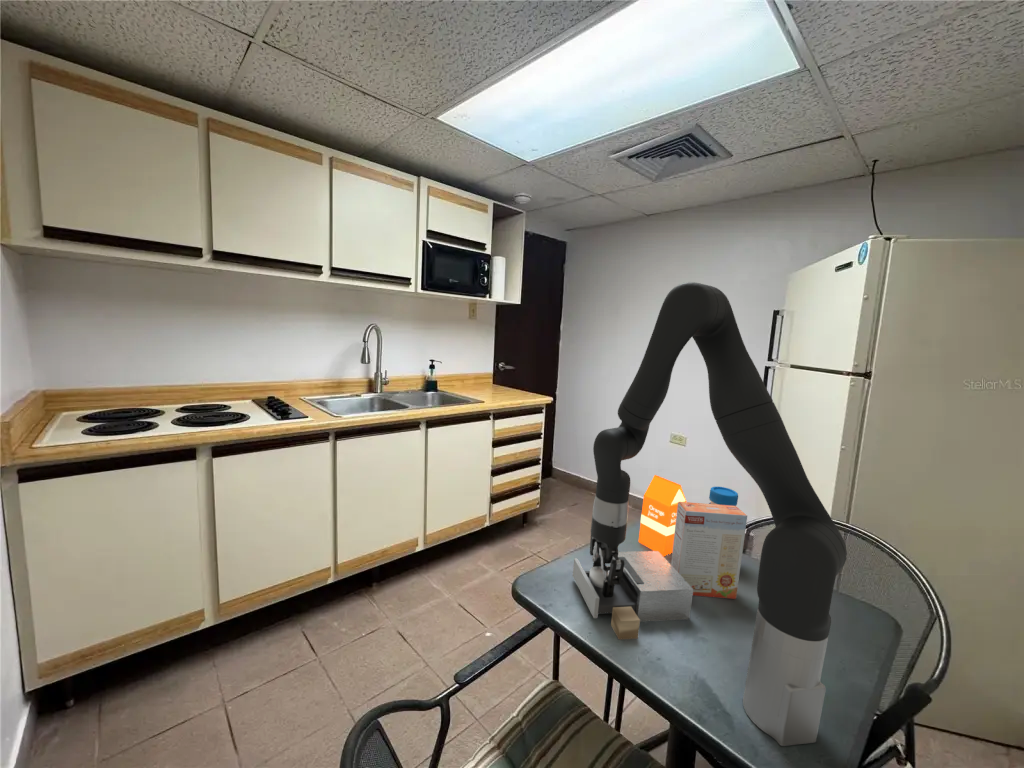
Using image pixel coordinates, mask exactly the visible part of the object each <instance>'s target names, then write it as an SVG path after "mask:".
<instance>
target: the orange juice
mask: <svg viewBox="0 0 1024 768" xmlns="http://www.w3.org/2000/svg"><path fill="white" fill-rule="evenodd" d="M678 502H688V501H687V499H686V496H685V493H684V491H683V487H682V484H679V483H677V482H674V481H671V480H669V479H667V478H665V477H661V476H659V475H657V474H654V475H653V477H652V480H651V481H650V483H649V485H648V486H647V489H646V491H645V492H644V494H643V499H642V509H641V514H640V524H639V525H640V526H639V533H638V543H639V544H640V545H642V546H645V547H647V548H648V549H650V551H659V552H660V554H661V555H662V556H663V557H667V556H669V555H672V554H671V553H672V551H673V542H674V533H675V524H676V516H677V507H678ZM668 554H669V555H668ZM666 555H667V556H666Z"/></svg>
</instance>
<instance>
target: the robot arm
mask: <svg viewBox="0 0 1024 768" xmlns="http://www.w3.org/2000/svg"><path fill="white" fill-rule="evenodd" d="M738 326H739V325H738V323H737V320H736V317H735V314H734V311H733V309H732V305H731V303H730V301H729V299H728V297H727V295H726V294H725V293H724V292H723V291H722V290H721V289H719V288H717V287H715V286H711V285H708V284H704V283H701V282H700V283H699V282H694V281H688V282H683V283H679V284H677V285H676V286H674V287H673V288H672V289H670V290H669V292H668V293H667V295H666V297H665V298H664V301H663V303H662V305H661V307H660V310H659V313H658V316H657V317H656V322H655V325H654V328H653V330H652V334H651V335H650V339H649V341H648V345H647V347H646V349H645V353H644V355H643V358H642V360H641V362H640V366H639V367H638V370H637V372H636V374H635V376H634V378H633V380H632V383H631V384H630V385H629V388H628V389H627V391H626V393H625V394H624V397H623V398H622V400H621V402H620V404H619V406H618V409H617V416H618V419H619V420H620V421H621V423H620V424H619V426H618V427H614V428H613V427H612V428H607V429H603V430H601V431H600V432H598V434H597V435H596V437H595V438H594V442H593V449H592V450H593V458H594V465H595V471H596V476H597V478H596V489H595V496H594V500H593V507H592V516H591V524H590V539H589V541H590V543H589V554H590V556H592V558H591V559H592V564H593V565H592V567H595V566H601V569H602V570H603V571H604V583H603V592H602V594H603V596H604V597H605V598H607V597H612V596H613V592H614V585H616V584H617V585H620V584H621V579H622V574H623V569H624V560H620V559H619V558H618V552H619V546H620V545H621V544H622V543H623V542H624V541H625V540H626V536H627V526H628V518H629V517H628V516H629V498H630V490H631V476H630V475H629V473H628V472H626V471H625V470H623V469H622V468H621V467H622V462H623V461H626V460H629V459H633V458H634V457H636V456H637V455H638V454H639V453H640V452H641V450H642V449H643V448H644V445H645V443H646V439H647V436H648V433H649V429H650V425H651V422H652V421H653V420H654V418H655V416H656V415H657V413H658V411H660V410H659V409H660V408H661V406H662V404H663V403H664V401H665V399H666V396H667V394H668V391H669V388H670V383H671V378H672V373H673V370H674V368H675V367H674V366H675V364H676V362H677V359H678V358H679V355H680V354H681V352H682V350H683V349H684V347H685V346H686V345H687V343H689V341H690V340H691V338H692V339H693V341H694V342H695V344H696V346H697V348H698V350H699V352H700V354H701V356H702V358H703V361H704V363H705V366H706V367H705V368H706V370H707V379H708V396H709V404H710V408H711V413H712V415H713V418H714V420H715V422H716V425H717V427H718V430H719V432H720V435H721V438H722V439H723V442H724V443H725V446H727V449H728V450H729V452H730V453H731V454H732V455H733V457H734V458H735V460H736V461H737V462H738V463H739V464H740V465H741V466H742V467H741V468H743V469H744V470H745V471H746V472H747V473H748V474H749V475H750V477H751V478H752V479H753V481H754V482H755V483H756V485H757V486H758V487H759V489H760V491H761V493H762V495H763V497H764V499H765V501H766V504H767V506H768V508H769V512H770V514H771V516H772V520H773V523H774V526H775V527H774V528H773V529H771V530H770V531H769V532H768V533H767V534H766V536H765V538H764V541H763V543H762V544H763V545H762V548H761V554H760V558H759V559H760V560H759V566H758V577H757V583H756V586H757V587H756V591H757V592H756V593H757V597H758V603H757V604H758V605H757V611H756V618H755V623H754V628H753V635H752V642H751V647H750V653H749V654H750V655H749V659H748V661H749V662H748V667H747V670H746V671H747V673H746V678H745V684H744V692H743V698H742V705H743V708H744V711H745V713H746V715H747V716H748V718H749V719H750V720H751V722H753V723H754V724H755V725H756V726H757V728H759V729H760V730H761V731H763V732H764V733H765V734H767V735H768V736H770V737H772V738H773V739H774V740H775V741H776V742H777V743H778V744H779V746H781V747H785V746H786V747H787V746H796V745H802V744H804V745H805V744H812V743H813V744H814V743H816V742H817V737H818V732H819V728H820V727H819V726H820V722H821V717H822V711H823V708H824V707H823V706H824V700H825V695H826V691H827V688H826V685H825V684H823V683H822V682H821V677H822V672H823V666H824V663H825V662H824V661H825V656H826V653H827V647H828V640H829V635H830V632H831V631H830V630H831V625H832V617H831V614H830V609H831V604H832V597H833V593H834V587H835V584H836V583H835V581H836V579H837V576H838V574H839V573H840V571H842V569H843V568H844V567H845V563H846V561H847V555H848V551H847V545H846V542H845V540H844V537H843V535H842V534H841V532H840V530H839V529H838V527H837V525H836V524H835V522H834V521H833V518H832V517H831V516H830V514H829V512H828V511H827V509H826V508H825V506H824V504H823V502H822V501H821V499H820V498H819V496H818V494H817V493H816V491H815V489H814V488H813V485H812V484H811V481H810V480H809V478H808V476H807V474H806V471H805V469H804V466H803V464H802V462H801V459H800V457H799V454H798V452H797V451H796V448H795V446H794V444H793V442H792V440H791V438H790V435H789V433H788V431H787V428H786V425H785V423H784V421H783V419H782V417H781V415H780V414H781V413H780V412H779V410H778V408H777V406H776V403H775V402H774V401H773V398H772V396H771V394H770V392H769V391H768V389H767V387H766V385H765V382H764V381H763V378H762V377H761V375H760V373H759V370H758V368H757V367H756V365H755V363H754V361H753V359H752V358H751V356H750V354H749V352H748V350H747V348H746V345H745V343H744V340H743V338H742V334H741V332H740V329H739V327H738ZM606 564H607V565H606ZM608 564H609V565H608ZM608 571H609V575H608Z"/></svg>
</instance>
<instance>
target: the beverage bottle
mask: <svg viewBox="0 0 1024 768" xmlns="http://www.w3.org/2000/svg"><path fill="white" fill-rule="evenodd" d="M738 499H739V493H738V492H737V491H735V489H734V490H733V489H732V488H729V487H724V486H712V487H710V490H709V497H708V500H709V502H708V504H717V505H730V506H736V507H737V505H738Z"/></svg>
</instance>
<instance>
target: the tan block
mask: <svg viewBox="0 0 1024 768" xmlns="http://www.w3.org/2000/svg"><path fill="white" fill-rule="evenodd" d="M640 623H641V622H640V619H639V618H638V616H637V615H636V613H635V612H634V610H633V609H632V607H613V611H612V613H611V622H610V626H611V628H612V629H613V631H614V633H615V636H616V637H617V639H618V640H633V639H635V640H636V639H639V631H640V626H641V625H640Z"/></svg>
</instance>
